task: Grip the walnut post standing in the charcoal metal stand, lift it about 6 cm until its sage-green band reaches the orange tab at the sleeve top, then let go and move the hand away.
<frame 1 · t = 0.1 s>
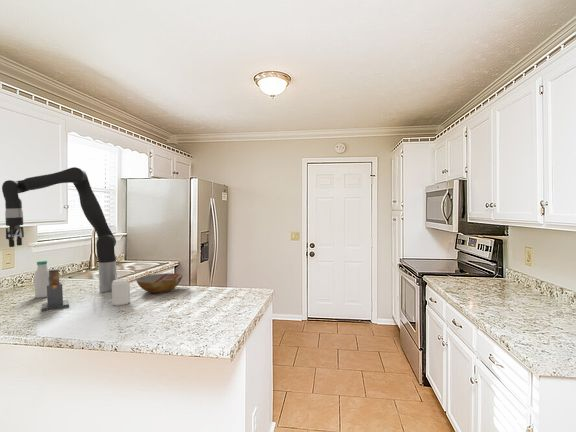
hand: (15, 246, 183), 29 cm above the countertop, fingers open, 8 cm apart
white upright block: (121, 304, 167), on the countertop
walnut post: (54, 286, 165), point 10 cm above the countertop, slide at 0.0 cm
milk bottle: (43, 296, 187), on the countertop
stand sleeve: (55, 306, 165), on the countertop
bowl: (160, 291, 192), on the countertop
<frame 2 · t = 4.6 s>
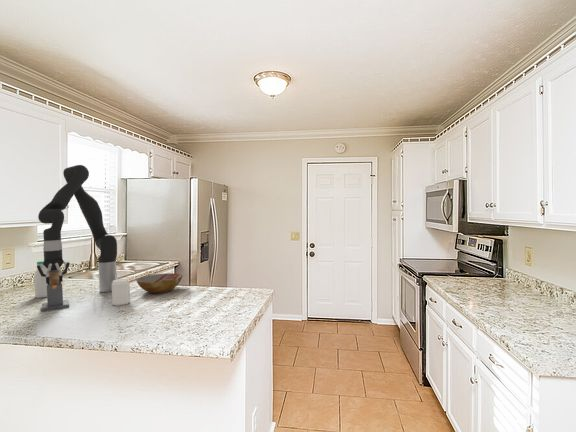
hand: (54, 283, 165), 12 cm above the countertop, fingers closed on walnut post, 4 cm apart
walnut post: (54, 286, 165), point 10 cm above the countertop, slide at 0.0 cm, touching gripper
everything else where it was.
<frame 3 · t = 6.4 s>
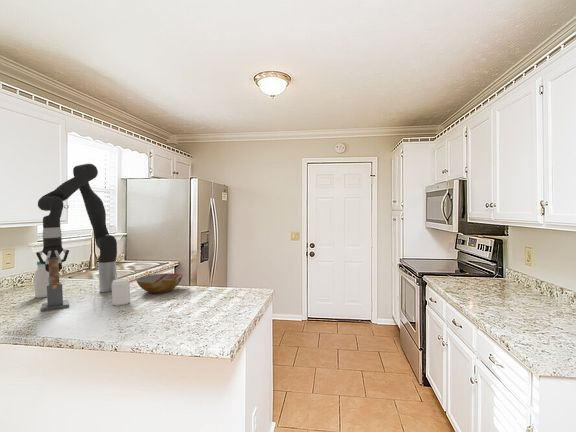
hand: (53, 270, 165), 18 cm above the countertop, fingers closed on walnut post, 4 cm apart
walnut post: (54, 274, 165), point 17 cm above the countertop, slide at 6.3 cm, touching gripper
everything else where it was.
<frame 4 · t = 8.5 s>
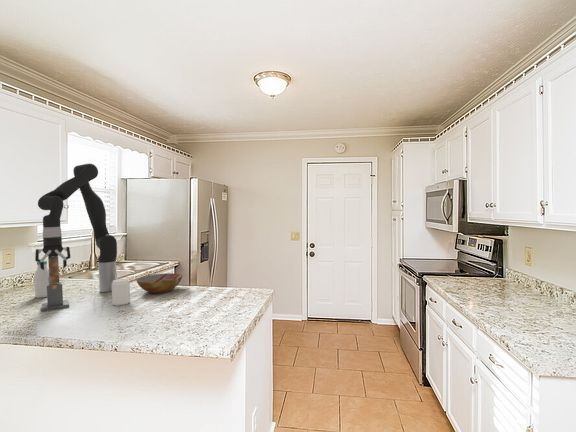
hand: (53, 268, 165), 19 cm above the countertop, fingers open, 8 cm apart
walnut post: (54, 273, 165), point 17 cm above the countertop, slide at 6.5 cm
everything else where it was.
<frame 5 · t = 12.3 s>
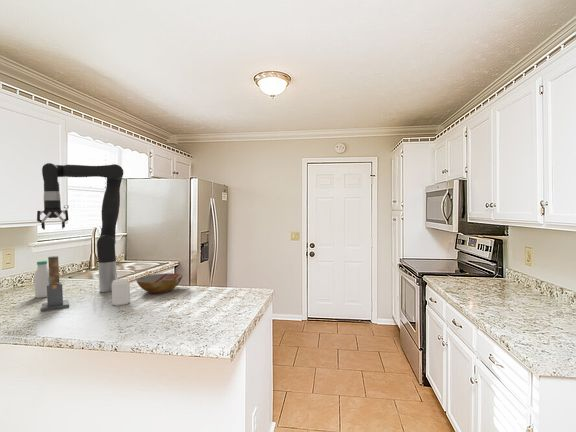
hand: (53, 229, 184), 38 cm above the countertop, fingers open, 8 cm apart
nothing on the countertop moved.
at the end: walnut post slide at 6.5 cm; the gripper is holding nothing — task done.
